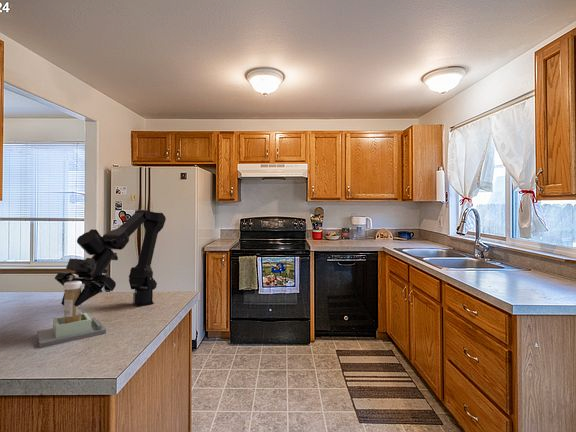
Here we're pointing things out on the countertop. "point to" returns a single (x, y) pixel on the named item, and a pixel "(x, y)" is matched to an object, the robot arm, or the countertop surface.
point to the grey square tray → (70, 331)
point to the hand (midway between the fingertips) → (68, 305)
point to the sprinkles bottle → (72, 301)
